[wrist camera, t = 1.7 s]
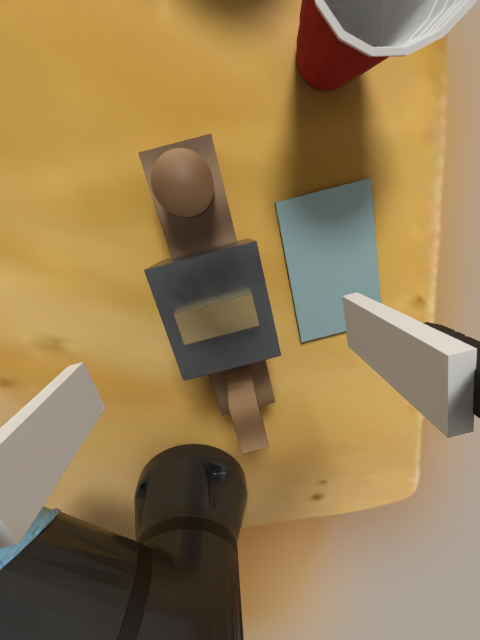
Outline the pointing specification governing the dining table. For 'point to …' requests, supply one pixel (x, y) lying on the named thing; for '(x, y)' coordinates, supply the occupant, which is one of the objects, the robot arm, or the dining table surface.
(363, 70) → the plastic cup
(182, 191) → the plane body
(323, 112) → the dining table surface
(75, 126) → the dining table surface
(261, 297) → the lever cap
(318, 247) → the rubber mat
